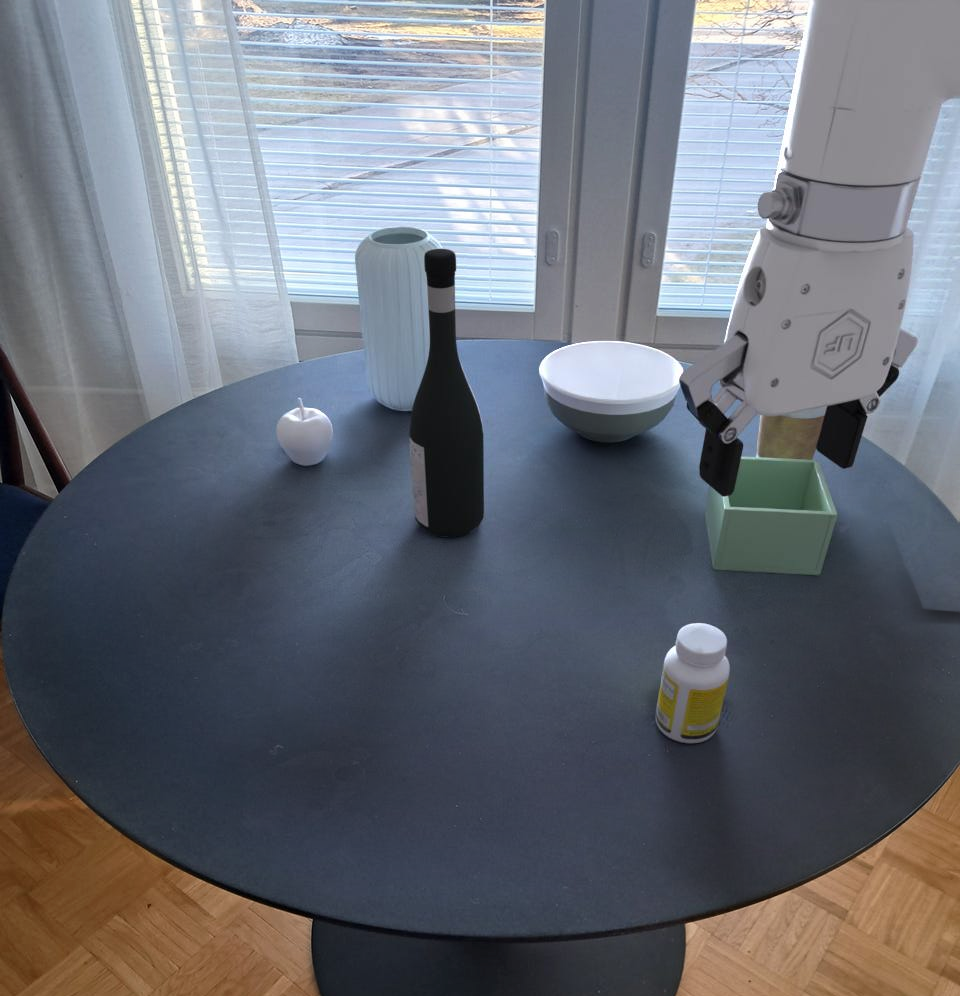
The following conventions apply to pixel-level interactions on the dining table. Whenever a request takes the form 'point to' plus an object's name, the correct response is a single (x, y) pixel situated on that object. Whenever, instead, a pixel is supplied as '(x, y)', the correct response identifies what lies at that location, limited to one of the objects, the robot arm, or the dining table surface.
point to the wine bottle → (445, 420)
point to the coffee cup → (790, 434)
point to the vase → (394, 312)
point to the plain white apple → (305, 435)
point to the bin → (772, 518)
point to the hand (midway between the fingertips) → (775, 472)
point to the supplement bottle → (693, 684)
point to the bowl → (610, 388)
